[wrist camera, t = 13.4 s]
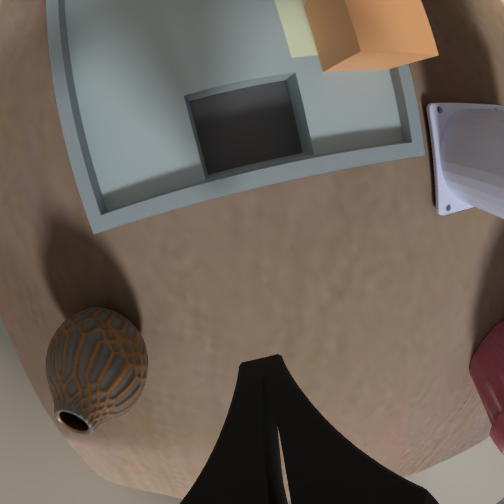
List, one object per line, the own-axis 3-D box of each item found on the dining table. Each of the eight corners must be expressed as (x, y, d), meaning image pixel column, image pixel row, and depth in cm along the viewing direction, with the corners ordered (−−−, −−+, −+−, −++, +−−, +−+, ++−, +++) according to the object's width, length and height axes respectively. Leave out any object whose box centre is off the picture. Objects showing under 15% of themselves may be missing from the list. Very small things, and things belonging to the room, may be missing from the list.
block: (370, 7, 11) (412, -21, 7) (388, 69, 13) (438, 55, 8) (303, 6, 11) (331, -32, 7) (323, 72, 13) (360, 51, 8)
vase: (56, 314, 19) (3, 392, 11) (115, 276, 18) (60, 364, 10) (111, 375, 21) (83, 459, 13) (173, 348, 21) (158, 447, 13)
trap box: (315, -87, 9) (328, -110, 6) (394, 150, 17) (424, 155, 14) (68, -36, 9) (48, -54, 6) (114, 216, 17) (93, 234, 14)
